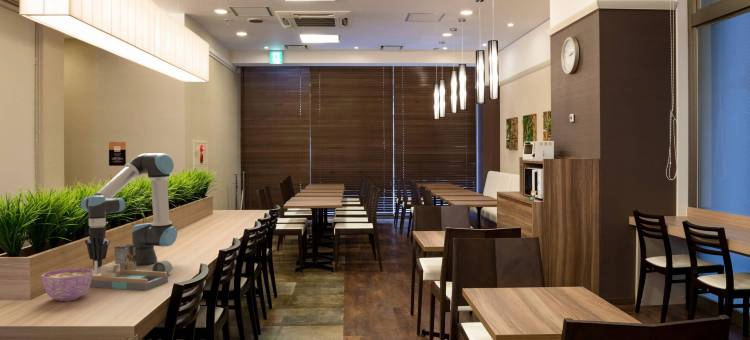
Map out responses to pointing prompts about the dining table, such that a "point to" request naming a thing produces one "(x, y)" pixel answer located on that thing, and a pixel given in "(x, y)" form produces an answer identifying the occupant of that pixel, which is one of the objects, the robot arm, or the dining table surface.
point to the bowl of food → (67, 283)
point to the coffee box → (126, 256)
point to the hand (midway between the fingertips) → (97, 273)
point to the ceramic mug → (162, 267)
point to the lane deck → (131, 280)
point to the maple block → (110, 270)
